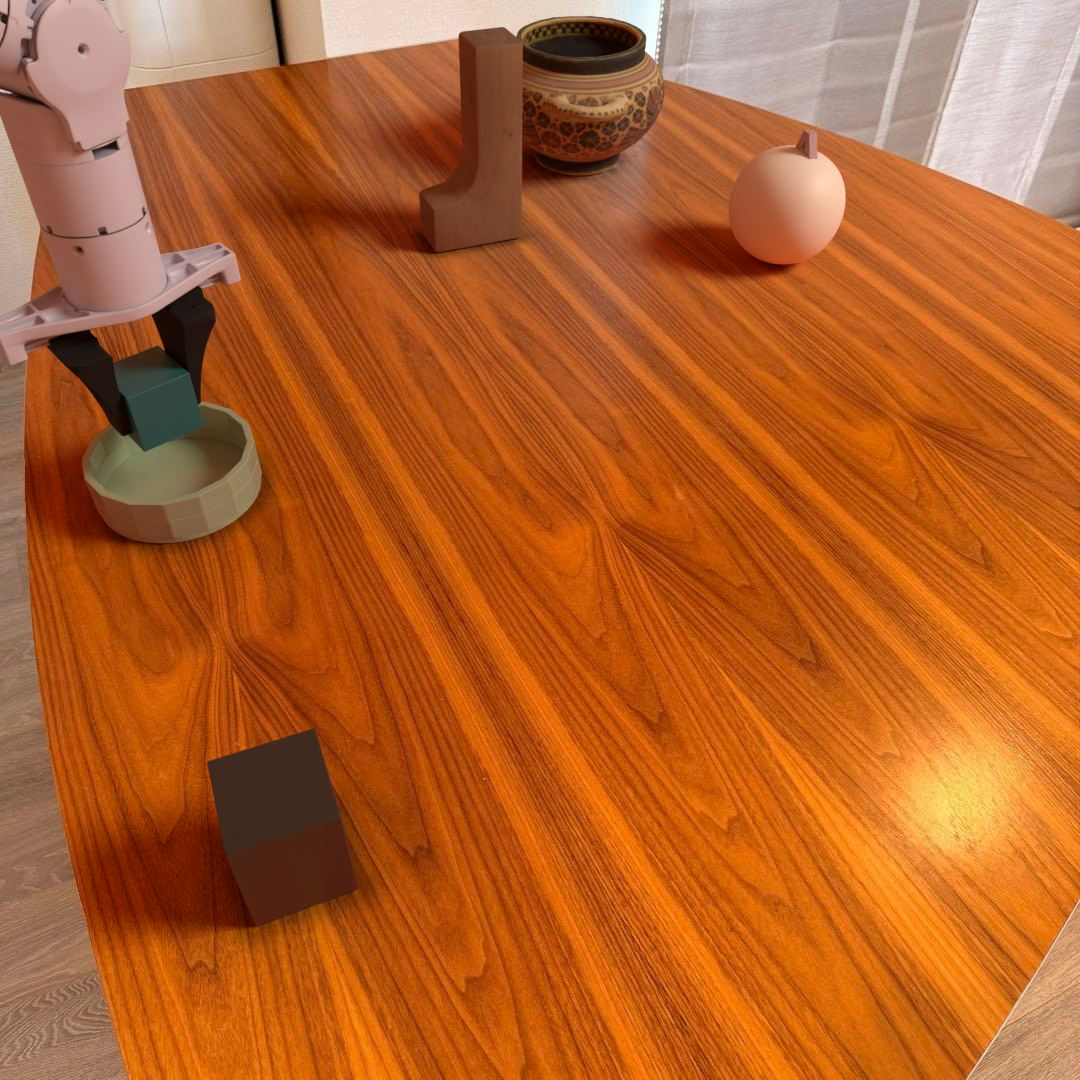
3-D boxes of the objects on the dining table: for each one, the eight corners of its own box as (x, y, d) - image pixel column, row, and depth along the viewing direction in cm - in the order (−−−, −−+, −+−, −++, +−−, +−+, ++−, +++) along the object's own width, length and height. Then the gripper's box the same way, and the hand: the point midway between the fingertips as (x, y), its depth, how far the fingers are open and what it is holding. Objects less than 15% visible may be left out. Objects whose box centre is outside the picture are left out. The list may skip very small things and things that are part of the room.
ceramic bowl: (517, 138, 119) (484, 7, 109) (661, 102, 116) (640, -35, 106) (518, 234, 102) (478, 89, 91) (687, 194, 99) (665, 41, 89)
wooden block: (435, 254, 92) (423, 53, 80) (420, 233, 95) (406, 36, 83) (522, 238, 95) (524, 41, 82) (505, 218, 98) (505, 25, 85)
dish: (105, 561, 63) (89, 522, 60) (92, 459, 70) (77, 420, 68) (276, 519, 66) (267, 480, 64) (246, 425, 73) (237, 387, 71)
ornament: (849, 255, 94) (882, 130, 85) (793, 295, 88) (823, 165, 80) (759, 221, 99) (782, 99, 90) (701, 257, 93) (719, 130, 85)
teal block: (144, 452, 62) (126, 398, 59) (114, 422, 64) (95, 368, 61) (204, 426, 64) (189, 372, 61) (173, 397, 66) (158, 344, 63)
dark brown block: (255, 927, 46) (225, 855, 41) (237, 837, 49) (206, 760, 44) (359, 889, 47) (341, 816, 42) (334, 804, 51) (314, 727, 46)
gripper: (179, 156, 60) (225, 346, 69) (-69, 228, 52) (20, 428, 62) (238, 195, 56) (278, 390, 65) (-20, 278, 49) (67, 483, 58)
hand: (156, 412), depth 63 cm, fingers closed on teal block, 4 cm apart
